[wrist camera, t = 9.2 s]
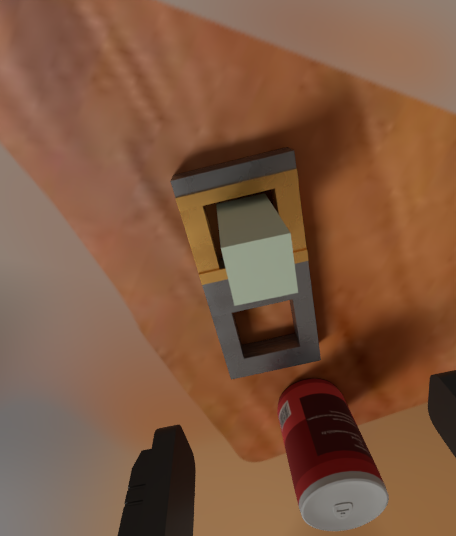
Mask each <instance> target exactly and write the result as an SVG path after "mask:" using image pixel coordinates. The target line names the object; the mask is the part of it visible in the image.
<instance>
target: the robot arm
mask: <svg viewBox="0 0 456 536" xmlns="http://www.w3.org/2000/svg"><path fill="white" fill-rule="evenodd" d="M428 412H429V416H430V419H431V421H432V423H433V425H434V427H435V428H436V430H437V431H438V433H439V434H440V436H441V437H442V439H443V440H444V442H445V443H446V444H447V446H448V447H449V449H450V450H451V452H452V453H453V455H454V456H455V457H456V370H454V371H449V372H444V373H439V374H434V375H431V377H430V383H429V397H428ZM194 496H195V461H194V456H193V452H192V450H191V448H190V445H189V443H188V441H187V439H186V436H185V434H184V432H183V430H182V427H181V426H180V425H174V426H169V427H164V428H159V429H157V430H156V431H155V434H154V439H153V444H152V449H149V450H143V451H141V453H140V455H139V457H138V459H137V460H136V462H135V464H134V466H133V468H132V471H131V476H130V481H129V485H128V491H127V495H126V499H125V507H124V509H123V513H122V518H121V523H120V528H119V532H118V536H193V521H194Z"/></svg>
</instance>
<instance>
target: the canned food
mask: <svg viewBox="0 0 456 536" xmlns="http://www.w3.org/2000/svg"><path fill="white" fill-rule="evenodd" d="M278 418H279V422H280V427H281V431H282V436H283V440H284V444H285V449H286V453H287V458H288V462H289V467H290V471H291V475H292V480H293V484H294V489H295V493H296V497H297V501H298V505H299V509H300V512H301V515H302V518H303V519H304V521H305V522H306V523H307V524H309V525H310V526H312V527H314V528H317V529H320V530H327V531H341V530H348V529H353V528H356V527H359V526H362V525H364V524H366V523H368V522H370V521H372V520H373V519H375V518H376V517H377V516H379V514H381V513H382V511H383V510H384V509H385V507H386V506H387V503H388V500H389V498H388V493H387V491H386V487H385V485H384V483H383V480H382V478H381V476H380V473H379V471H378V469H377V467H376V465H375V463H374V460H373V458H372V456H371V454H370V452H369V450H368V448H367V446H366V443H365V442H364V439H363V437H362V435H361V433H360V431H359V429H358V427H357V424H356V422H355V420H354V418H353V416H352V414H351V412H350V410H349V408H348V405H347V403H346V401H345V399H344V397H343V395H342V393H341V392H340V391H339V390H338V389H337V388H336V386H335V385H333V384H332V383H330V382H328V381H326V380H322V379H306V380H302V381H299V382H297V383H294V384H293V385H291V386H290V387H288V388H287V389H286V390H285V391H284V392H283V393H282V395H281V397H280V399H279V402H278Z"/></svg>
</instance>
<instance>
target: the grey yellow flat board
mask: <svg viewBox="0 0 456 536" xmlns="http://www.w3.org/2000/svg"><path fill="white" fill-rule="evenodd" d="M298 183H299V180H298V172H297V169H296V162H295V154H294V150H292V149H290V148H288V147H286V148H282V149H278V150H274V151H270V152H266V153H262V154H258V155H254V156H250V157H246V158H242V159H238V160H233V161H229V162H225V163H221V164H217V165H213V166H209V167H205V168H201V169H197V170H193V171H189V172H185V173H181V174H177V175H173V177H172V179H171V184H172V187H173V191H174V194H175V197H176V198H175V199H176V202H177V205H178V208H179V211H180V214H181V217H182V220H183V223H184V227H185V230H186V233H187V236H188V240H189V243H190V246H191V250H192V253H193V256H194V259H195V263H196V266H197V269H198V272H199V277H200V280H201V284H202V286H203V289H204V292H205V295H206V299H207V302H208V305H209V308H210V312H211V315H212V318H213V322H214V325H215V328H216V331H217V335H218V338H219V341H220V344H221V348H222V351H223V354H224V357H225V361H226V364H227V367H228V371H229V374H230V377H231V379H235V378H240V377H245V376H249V375H254V374H259V373H263V372H268V371H273V370H277V369H282V368H287V367H291V366H296V365H301V364H305V363H310V362H315V361H319V360H321V358H320V350H319V343H318V335H317V327H316V319H315V311H314V303H313V295H312V287H311V280H310V272H309V264H308V261H309V260H308V252H307V248H306V240H305V232H304V225H303V217H302V209H301V201H300V193H299V185H298ZM270 189H271V191H272V197H273V203H274V208H275V210H276V211H277V213H278V214H279V216H280V217H281V219H282V221H283V222H284V224H285V225H286V227H287V228H288V230H289V231H290V233H291V240H292V248H293V256H294V264H295V272H296V279H297V287H298V293H294V294H289V295H285V296H280V297H275V298H270V299H265V300H261V301H256V302H251V303H246V304H241V305H237V306H234V302H233V297H232V293H231V289H230V285H229V281H228V276H227V272H226V268H225V264H224V259H223V258H218V254H217V250H216V247H215V243H214V239H213V235H212V232H211V228H210V224H209V220H208V217H207V213H206V209H205V205H208V204H212V203H216V202H221V201H225V200H229V199H233V198H237V197H241V196H245V195H250V194H254V193H258V192H262V191H266V190H270ZM287 300H290V305H291V311H292V317H293V323H294V329H295V334H290V335H286V336H281V337H277V338H272V339H267V340H263V341H258V342H254V343H249V344H245V345H242V344H241V340H240V336H239V333H238V329H237V325H236V321H235V318H234V314H233V312H238V311H242V310H246V309H251V308H255V307H260V306H264V305H269V304H273V303H278V302H282V301H287Z"/></svg>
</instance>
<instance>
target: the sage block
mask: <svg viewBox="0 0 456 536" xmlns="http://www.w3.org/2000/svg"><path fill="white" fill-rule="evenodd" d="M216 206H217V216H218V226H219V236H220V245H221V251H222V255H223V259H224V264H225V268H226V272H227V276H228V281H229V285H230V289H231V293H232V297H233V302H234V306H237V305H241V304H246V303H251V302H256V301H261V300H265V299H270V298H275V297H280V296H285V295H289V294H294V293H298V287H297V279H296V272H295V264H294V256H293V248H292V240H291V233H290V231H289V230H288V228H287V227H286V225H285V224H284V222H283V221H282V219H281V217H280V216H279V214H278V213H277V211H276V210H275V208H274V207H273V205H272V204H271V202H270V200H269V199H268V197H267V196H266V194H265V193H263V194H259V195H254V196H250V197H245V198H241V199H236V200H232V201H227V202H223V203H218V204H216Z"/></svg>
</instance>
